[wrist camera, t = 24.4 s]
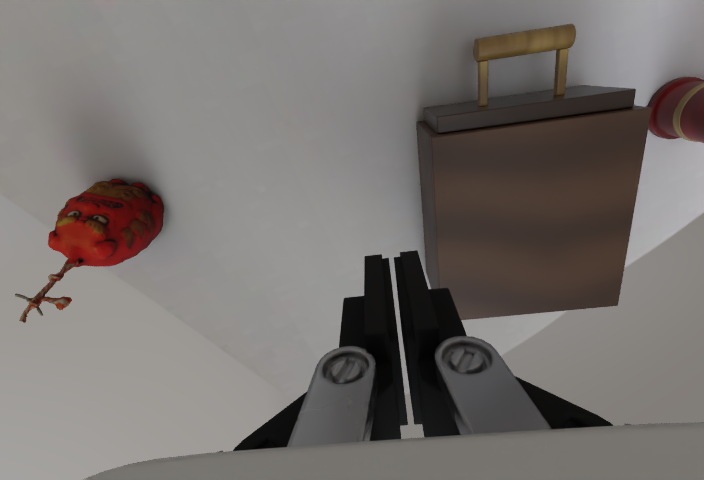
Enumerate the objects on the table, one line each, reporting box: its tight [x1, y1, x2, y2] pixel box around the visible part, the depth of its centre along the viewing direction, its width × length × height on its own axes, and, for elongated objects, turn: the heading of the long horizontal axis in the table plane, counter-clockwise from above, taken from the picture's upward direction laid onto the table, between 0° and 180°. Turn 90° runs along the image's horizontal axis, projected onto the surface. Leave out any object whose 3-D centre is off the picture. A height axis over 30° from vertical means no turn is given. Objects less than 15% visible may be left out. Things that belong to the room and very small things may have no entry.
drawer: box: [424, 24, 636, 134], centre depth 31 cm, size 19×13×7 cm
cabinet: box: [416, 105, 651, 320], centre depth 33 cm, size 16×14×9 cm
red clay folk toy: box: [15, 179, 164, 323], centre depth 32 cm, size 8×7×15 cm
